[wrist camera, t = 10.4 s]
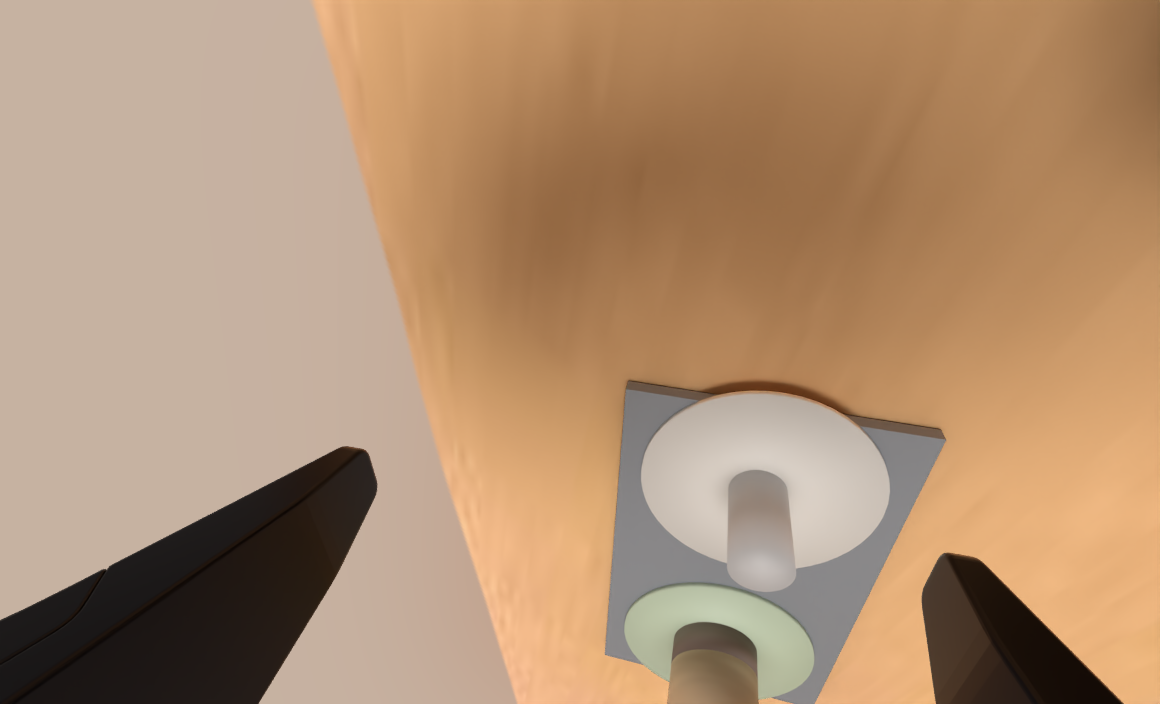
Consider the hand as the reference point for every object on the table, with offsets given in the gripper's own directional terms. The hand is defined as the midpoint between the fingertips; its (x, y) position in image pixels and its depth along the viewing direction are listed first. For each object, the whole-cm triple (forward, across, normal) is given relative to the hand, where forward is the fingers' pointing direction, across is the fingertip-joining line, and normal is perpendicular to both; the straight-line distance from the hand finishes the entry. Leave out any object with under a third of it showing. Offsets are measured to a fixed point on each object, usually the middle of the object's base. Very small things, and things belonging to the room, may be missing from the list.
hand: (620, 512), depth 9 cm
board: (+13, -4, +17) cm, 21 cm away
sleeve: (+12, -3, +23) cm, 26 cm away
